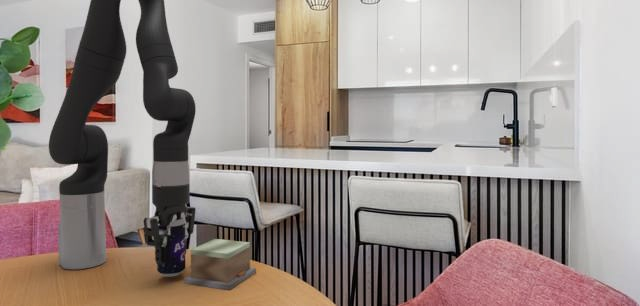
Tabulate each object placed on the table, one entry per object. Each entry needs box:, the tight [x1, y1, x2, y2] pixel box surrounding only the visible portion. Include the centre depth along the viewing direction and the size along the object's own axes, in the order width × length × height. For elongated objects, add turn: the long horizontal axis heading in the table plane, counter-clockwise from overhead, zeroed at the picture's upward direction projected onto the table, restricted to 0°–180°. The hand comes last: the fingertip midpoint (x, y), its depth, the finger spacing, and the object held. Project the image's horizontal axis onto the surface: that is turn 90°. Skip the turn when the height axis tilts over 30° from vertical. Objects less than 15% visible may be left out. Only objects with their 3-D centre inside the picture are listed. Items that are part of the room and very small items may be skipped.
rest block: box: [183, 238, 257, 291], centre depth 88 cm, size 11×11×7 cm
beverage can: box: [156, 218, 186, 277], centre depth 87 cm, size 6×6×12 cm
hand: (171, 259), depth 88 cm, fingers closed on beverage can, 5 cm apart
